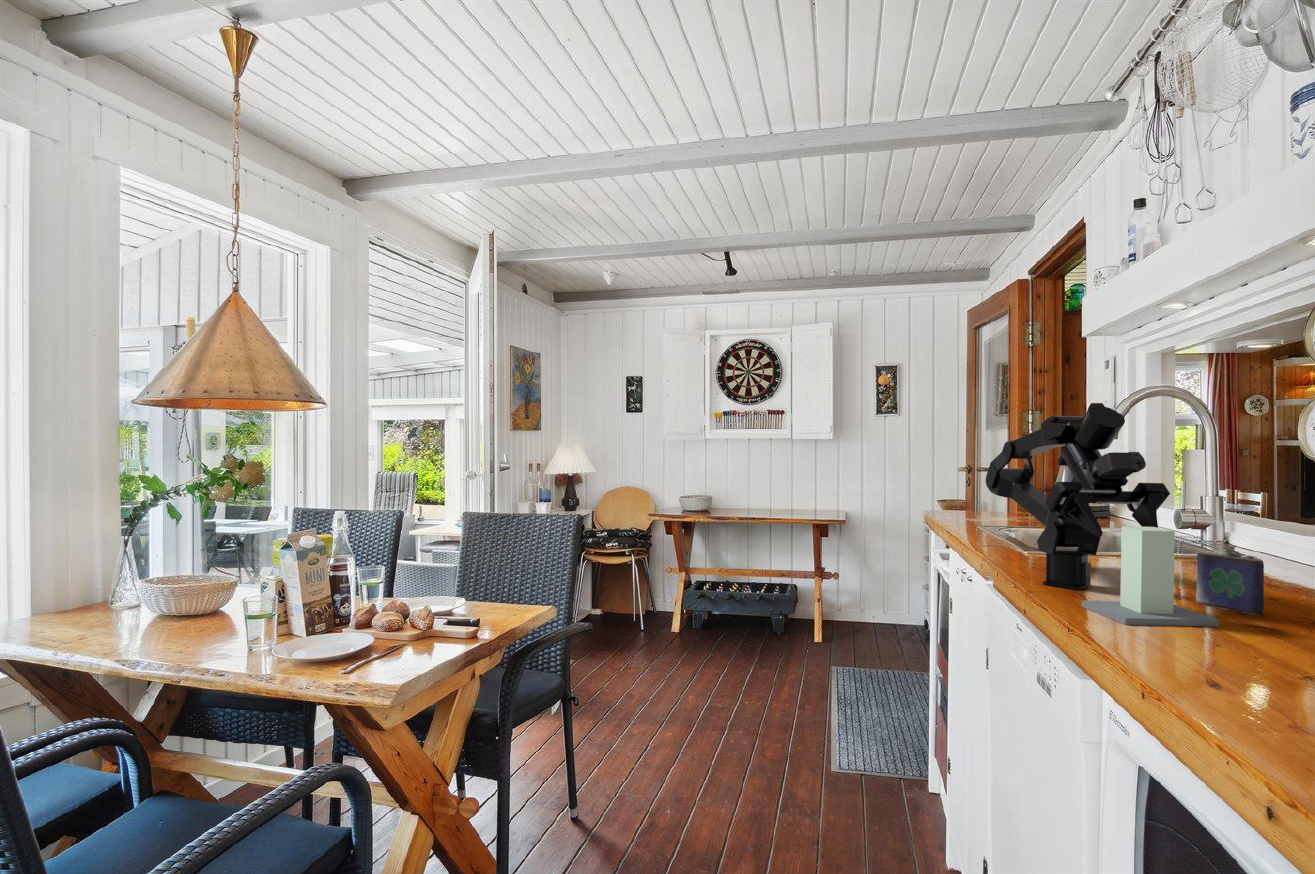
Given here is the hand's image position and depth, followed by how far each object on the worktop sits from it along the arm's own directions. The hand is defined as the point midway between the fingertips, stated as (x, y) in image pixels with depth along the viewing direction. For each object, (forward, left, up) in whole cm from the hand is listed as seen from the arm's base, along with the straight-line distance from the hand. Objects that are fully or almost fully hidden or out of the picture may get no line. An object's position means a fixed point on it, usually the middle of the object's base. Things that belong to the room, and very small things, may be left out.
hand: (1128, 536), depth 115 cm
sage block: (+3, -3, -11) cm, 12 cm away
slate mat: (+4, -3, -12) cm, 13 cm away
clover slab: (+11, +14, -12) cm, 22 cm away
